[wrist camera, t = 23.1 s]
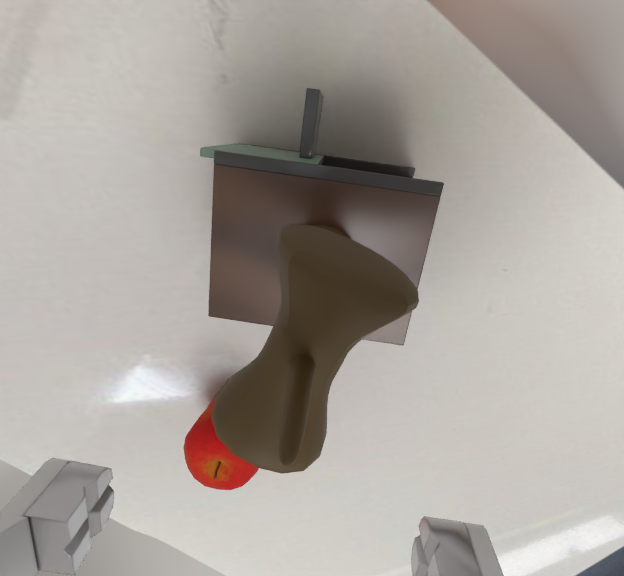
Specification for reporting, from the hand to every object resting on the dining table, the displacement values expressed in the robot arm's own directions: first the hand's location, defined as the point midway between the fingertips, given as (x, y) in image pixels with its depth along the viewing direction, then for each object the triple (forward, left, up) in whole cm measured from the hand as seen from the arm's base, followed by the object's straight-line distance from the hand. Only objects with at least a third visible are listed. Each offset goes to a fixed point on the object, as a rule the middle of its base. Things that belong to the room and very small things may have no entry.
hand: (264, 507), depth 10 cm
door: (-9, -5, -32) cm, 34 cm away
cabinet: (0, 0, -33) cm, 33 cm away
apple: (+24, -7, -33) cm, 42 cm away
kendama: (-1, 0, -21) cm, 21 cm away
